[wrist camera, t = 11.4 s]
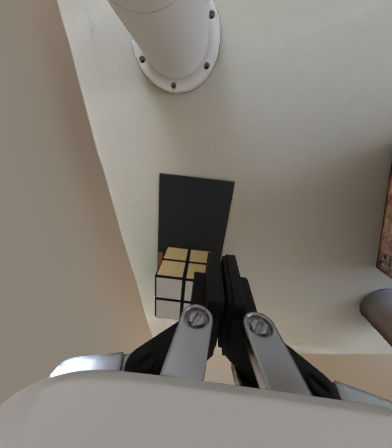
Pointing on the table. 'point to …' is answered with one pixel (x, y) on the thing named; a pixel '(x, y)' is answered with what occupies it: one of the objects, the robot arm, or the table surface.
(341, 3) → the table surface
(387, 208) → the book
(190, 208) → the mat
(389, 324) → the pillar candle
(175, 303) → the puzzle cube
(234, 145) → the table surface
